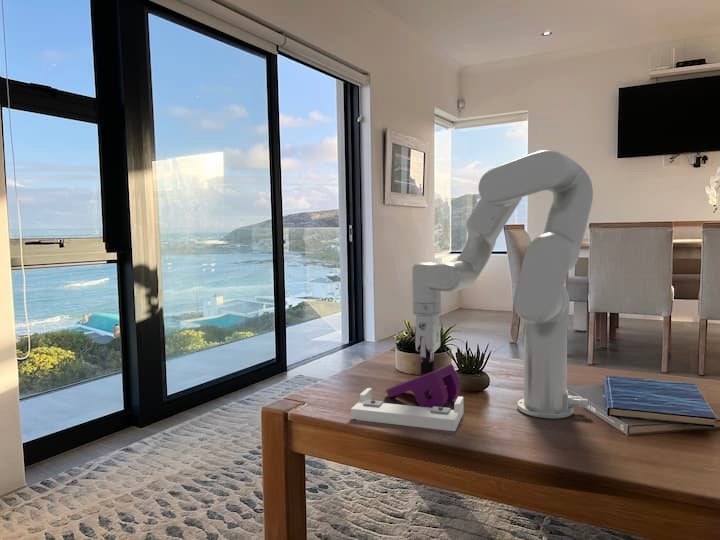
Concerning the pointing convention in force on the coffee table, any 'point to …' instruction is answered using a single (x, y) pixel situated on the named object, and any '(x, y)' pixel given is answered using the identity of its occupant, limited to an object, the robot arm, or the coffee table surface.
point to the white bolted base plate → (407, 413)
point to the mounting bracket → (431, 387)
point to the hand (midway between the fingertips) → (427, 375)
